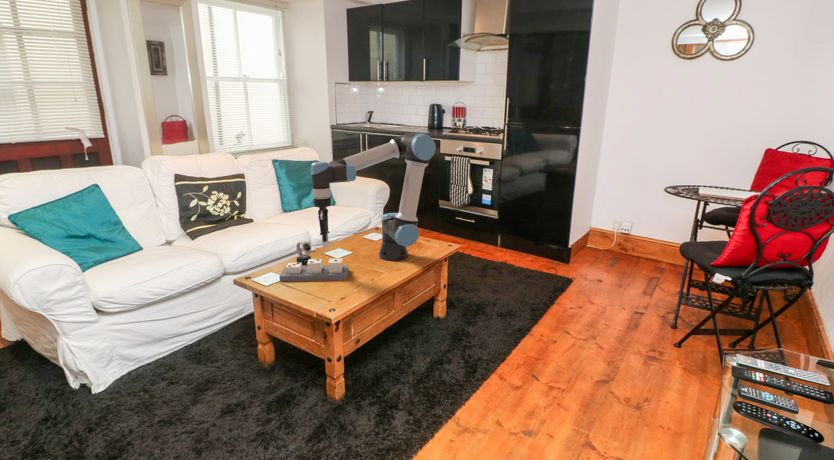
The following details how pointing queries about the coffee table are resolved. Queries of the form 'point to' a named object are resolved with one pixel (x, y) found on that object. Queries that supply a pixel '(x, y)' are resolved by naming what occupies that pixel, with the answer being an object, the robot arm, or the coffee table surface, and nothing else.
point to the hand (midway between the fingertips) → (325, 247)
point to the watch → (306, 248)
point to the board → (315, 275)
